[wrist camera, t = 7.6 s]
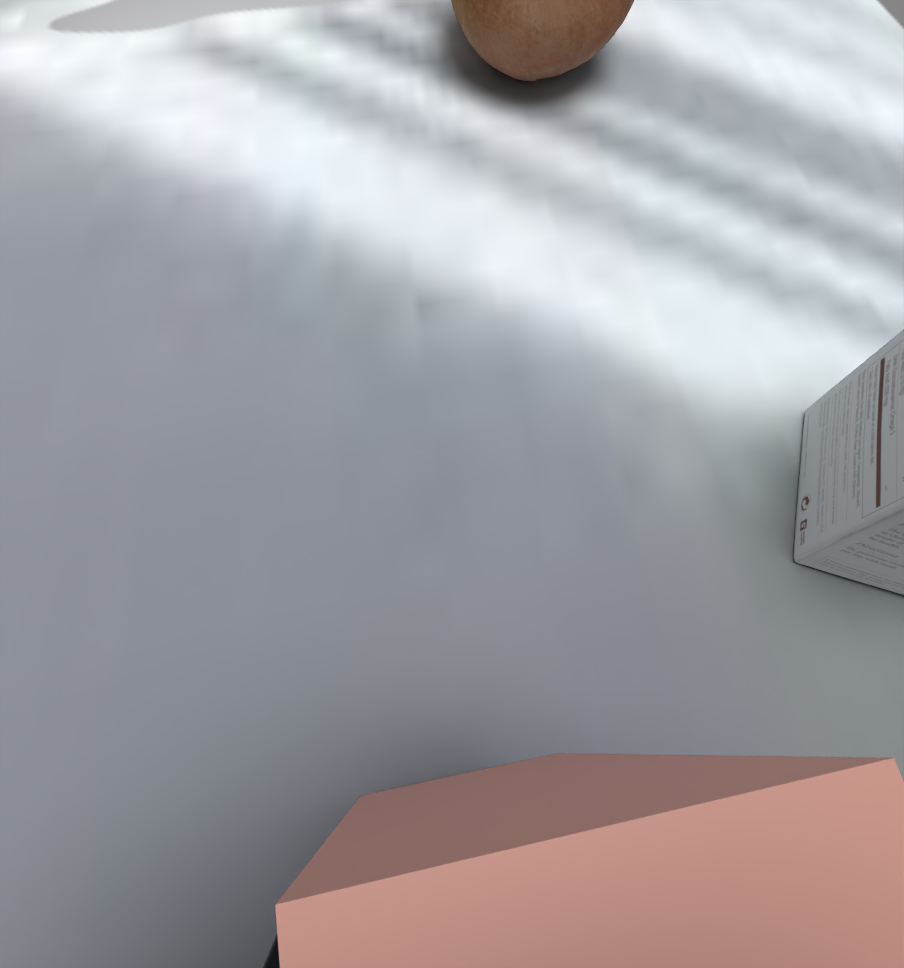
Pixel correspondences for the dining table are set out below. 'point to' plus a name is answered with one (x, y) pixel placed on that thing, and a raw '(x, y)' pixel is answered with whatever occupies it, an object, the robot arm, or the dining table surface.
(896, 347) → the supplement box
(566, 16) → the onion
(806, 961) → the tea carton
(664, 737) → the dining table surface
